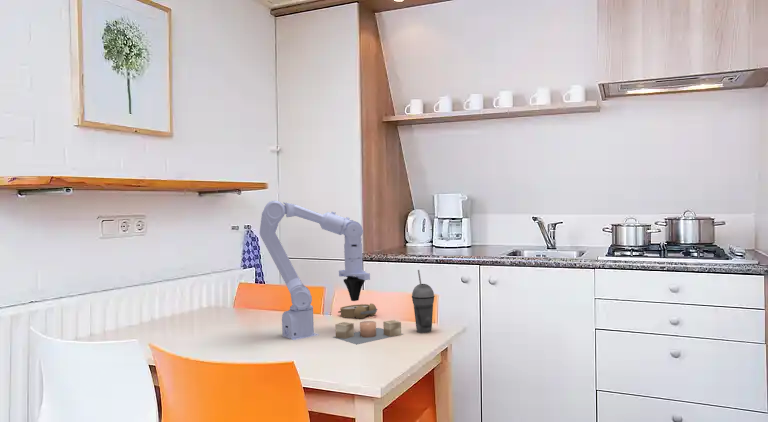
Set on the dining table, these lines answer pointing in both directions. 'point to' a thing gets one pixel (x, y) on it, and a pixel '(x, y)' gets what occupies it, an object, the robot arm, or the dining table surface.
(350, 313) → the alarm clock
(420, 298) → the beverage cup
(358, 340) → the slate mat
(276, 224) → the robot arm
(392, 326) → the birch cube
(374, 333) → the tan rounded piece
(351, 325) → the birch cube
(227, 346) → the dining table surface
